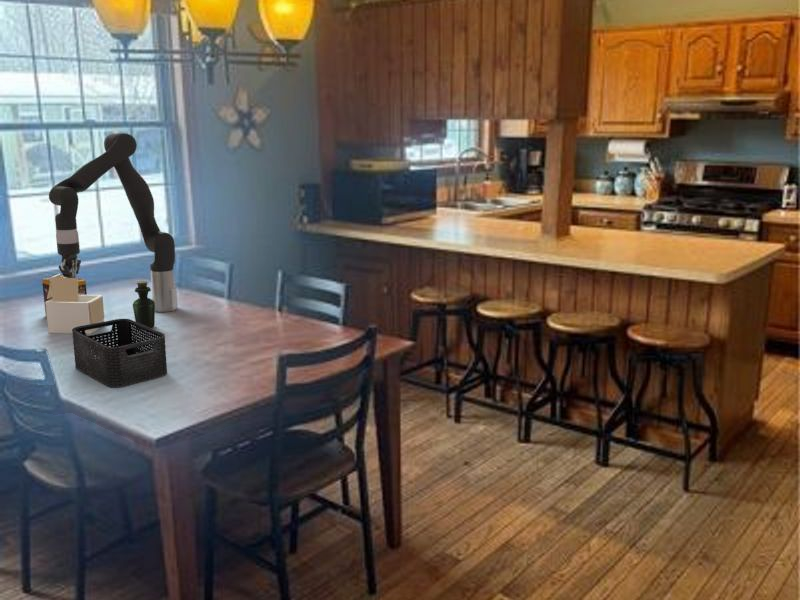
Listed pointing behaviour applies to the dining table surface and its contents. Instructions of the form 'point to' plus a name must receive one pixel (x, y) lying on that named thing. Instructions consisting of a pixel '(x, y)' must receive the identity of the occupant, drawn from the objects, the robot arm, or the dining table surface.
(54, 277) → the short flap
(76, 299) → the long flap
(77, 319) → the carton
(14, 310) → the dining table surface
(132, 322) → the storage bin
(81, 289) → the supplement box
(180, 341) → the dining table surface
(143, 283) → the potion bottle
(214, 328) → the dining table surface
